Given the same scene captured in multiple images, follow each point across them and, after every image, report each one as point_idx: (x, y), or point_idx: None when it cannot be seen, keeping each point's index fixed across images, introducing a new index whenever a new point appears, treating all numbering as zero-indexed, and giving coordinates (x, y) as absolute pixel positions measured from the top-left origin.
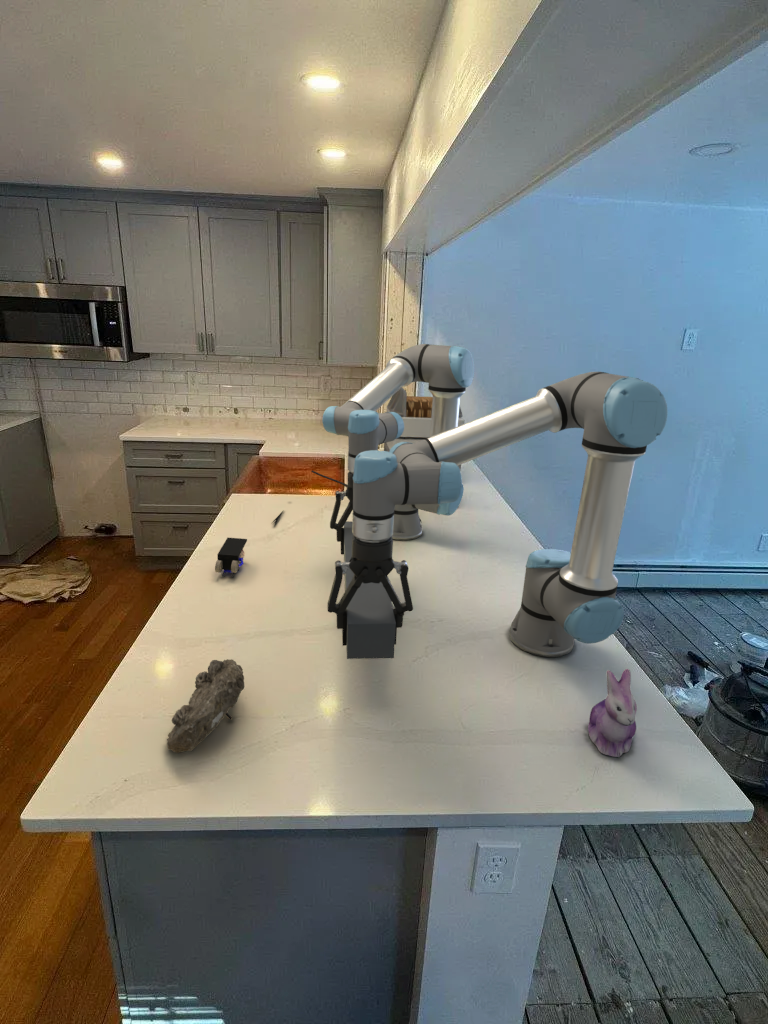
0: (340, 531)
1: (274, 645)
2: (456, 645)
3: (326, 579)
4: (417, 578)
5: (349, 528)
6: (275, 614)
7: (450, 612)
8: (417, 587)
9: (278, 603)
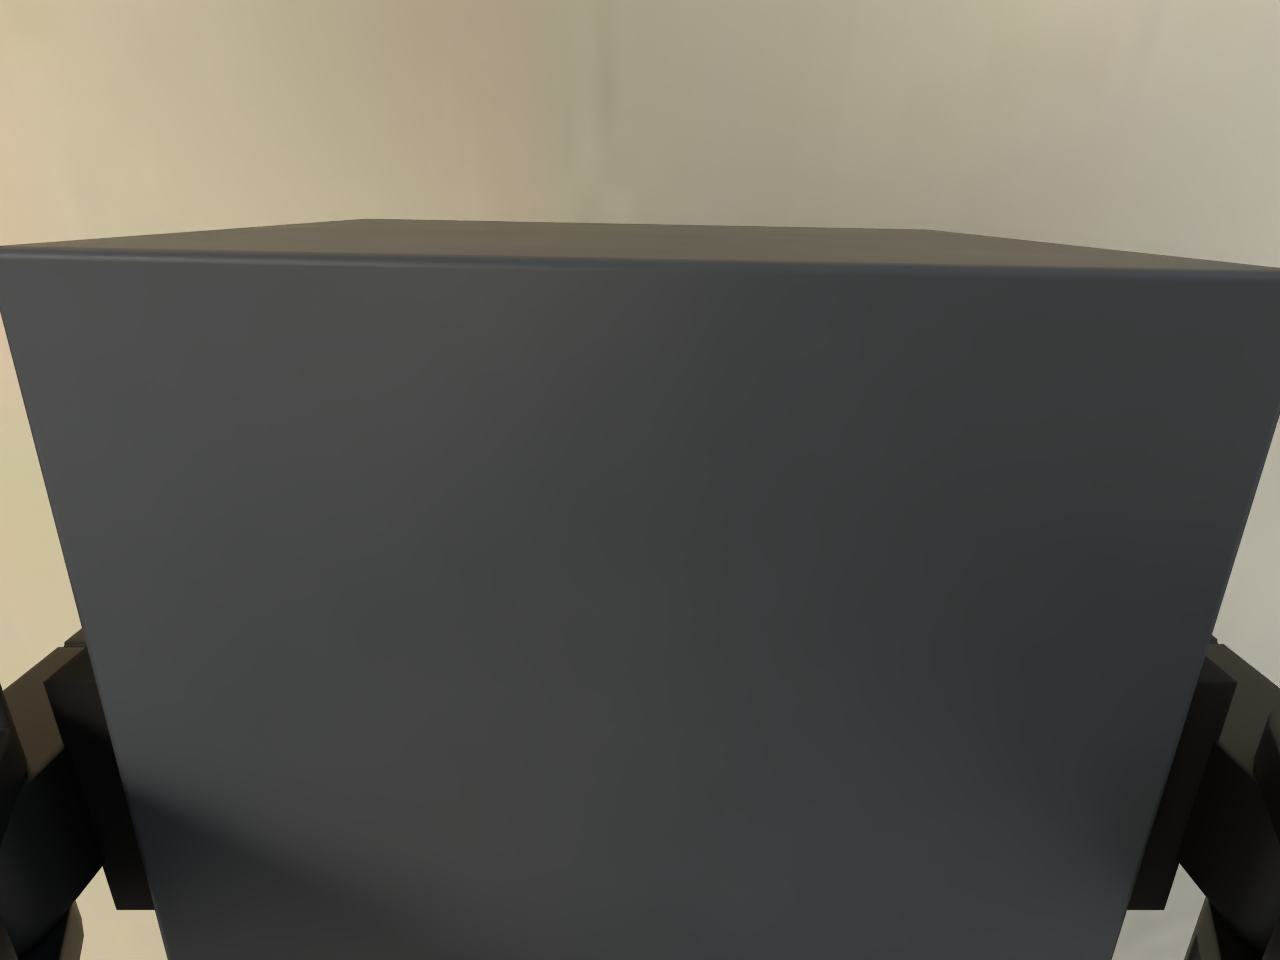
0: (96, 842)
1: (154, 931)
2: (1130, 950)
3: (323, 58)
4: (1265, 46)
5: (299, 877)
6: (47, 652)
7: (1269, 649)
8: (1185, 254)
9: (13, 510)
